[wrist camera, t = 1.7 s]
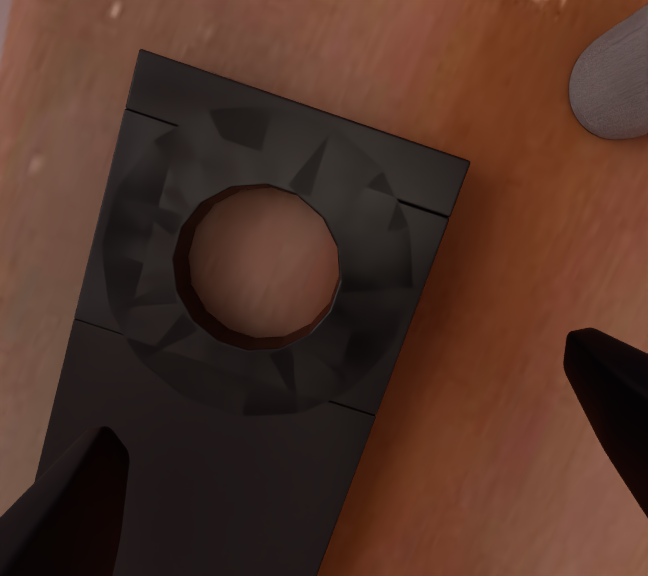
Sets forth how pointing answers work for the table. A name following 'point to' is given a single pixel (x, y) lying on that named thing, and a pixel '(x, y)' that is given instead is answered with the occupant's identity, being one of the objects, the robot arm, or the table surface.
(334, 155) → the plant stand
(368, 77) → the table surface
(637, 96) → the planter
